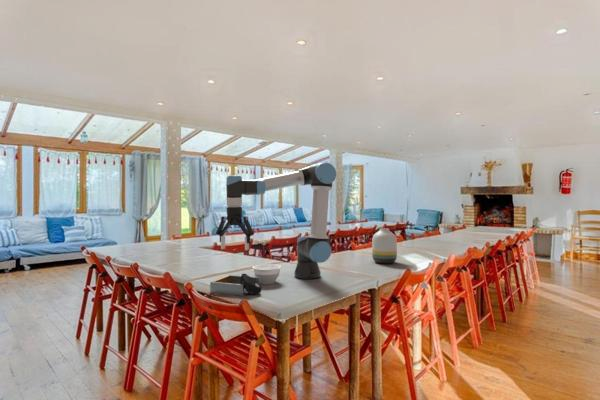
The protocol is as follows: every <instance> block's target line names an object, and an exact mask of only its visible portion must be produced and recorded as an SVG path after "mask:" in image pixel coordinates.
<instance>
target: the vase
mask: <svg viewBox="0 0 600 400" xmlns="http://www.w3.org/2000/svg"><path fill="white" fill-rule="evenodd" d="M397 239H398V238H397V237H396V235H395V234H394V233H393V232H391V231H390V228H388V227H387V228H385V227H384V228H383V227H382V228H379V230H378V231H377V232H375V233H374V234H373V236H372V240H371V241H372V242H371V249H372V251H371V253H372V254H371V255H372V259H373V261H374V262H375V263H377V264H386V265H387V264H393V263H395V262H396V261H397V256H398V255H397V254H398V240H397Z"/></svg>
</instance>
